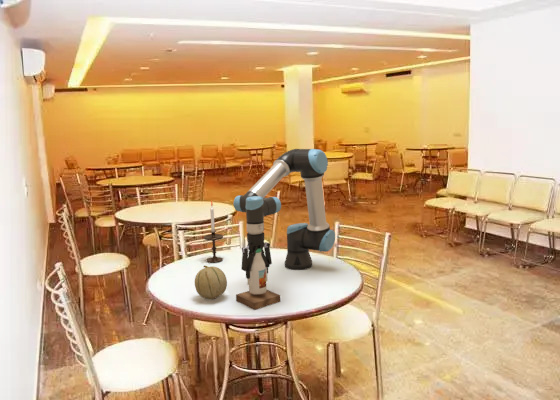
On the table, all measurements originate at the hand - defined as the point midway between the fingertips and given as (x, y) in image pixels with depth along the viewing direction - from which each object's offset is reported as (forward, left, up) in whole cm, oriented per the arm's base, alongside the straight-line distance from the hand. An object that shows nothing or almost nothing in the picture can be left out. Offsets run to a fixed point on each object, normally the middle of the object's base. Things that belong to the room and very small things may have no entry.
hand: (257, 282), depth 217 cm
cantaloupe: (+13, -18, -9) cm, 24 cm away
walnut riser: (0, 0, -9) cm, 9 cm away
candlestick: (-19, -68, -9) cm, 71 cm away
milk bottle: (0, 0, -4) cm, 4 cm away
